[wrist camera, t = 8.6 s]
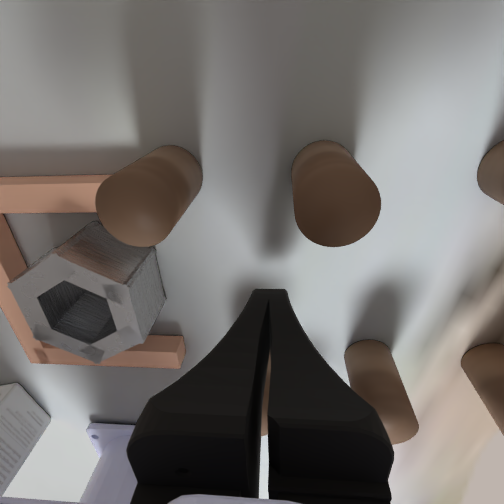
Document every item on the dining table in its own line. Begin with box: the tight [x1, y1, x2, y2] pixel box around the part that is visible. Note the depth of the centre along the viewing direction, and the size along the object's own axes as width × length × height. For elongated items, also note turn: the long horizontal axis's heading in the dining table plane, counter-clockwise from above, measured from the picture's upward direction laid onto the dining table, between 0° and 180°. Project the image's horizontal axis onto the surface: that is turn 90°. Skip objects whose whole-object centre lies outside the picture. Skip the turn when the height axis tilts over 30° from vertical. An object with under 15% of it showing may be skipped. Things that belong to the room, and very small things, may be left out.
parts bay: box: [0, 175, 186, 369], centre depth 15 cm, size 10×9×1 cm
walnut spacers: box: [95, 140, 504, 445], centre depth 13 cm, size 20×18×4 cm
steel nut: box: [7, 221, 167, 364], centre depth 15 cm, size 6×5×3 cm
